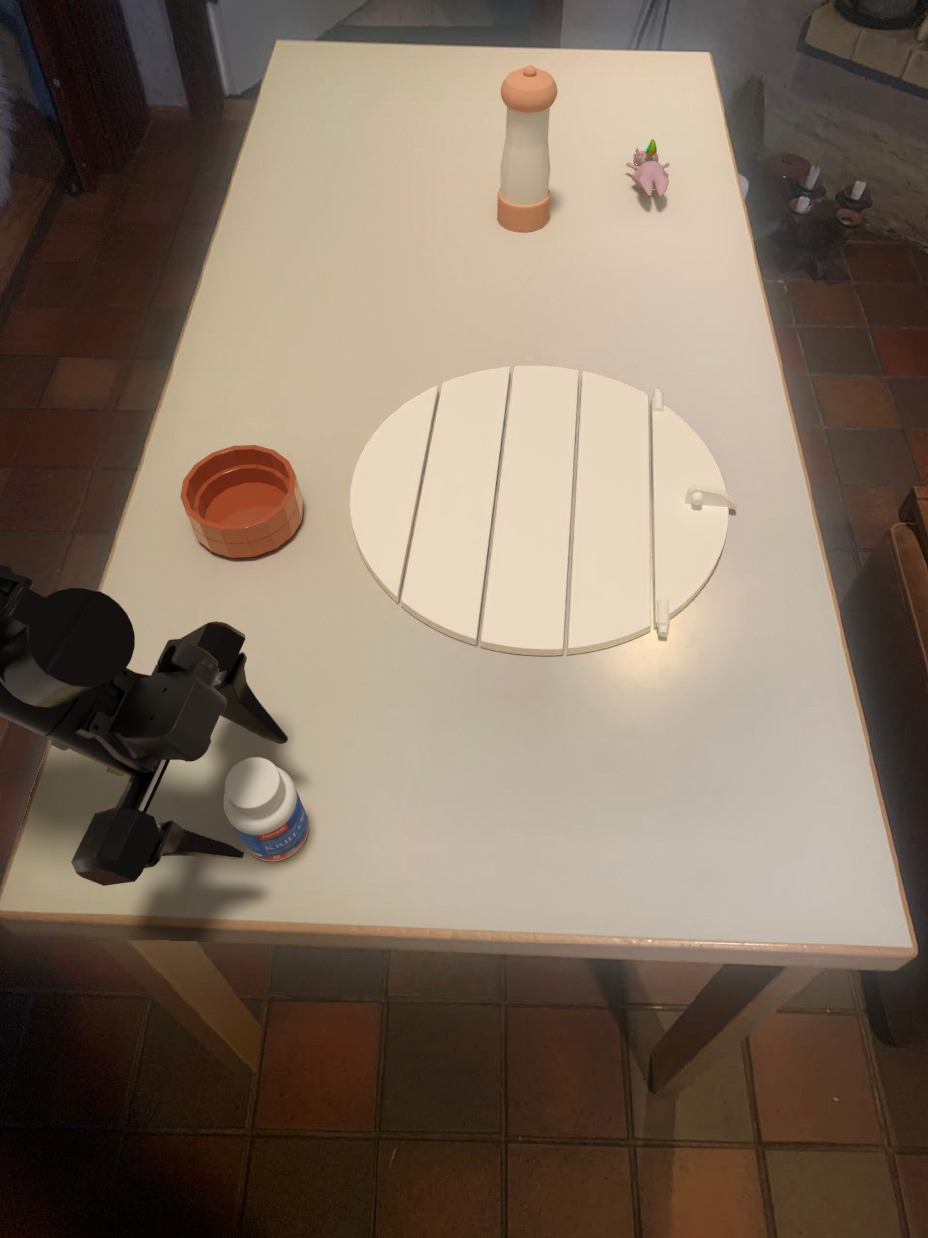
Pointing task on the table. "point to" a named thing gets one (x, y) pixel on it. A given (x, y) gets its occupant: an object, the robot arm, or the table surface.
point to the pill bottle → (265, 809)
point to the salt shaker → (526, 150)
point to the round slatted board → (539, 510)
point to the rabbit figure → (649, 170)
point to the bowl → (242, 500)
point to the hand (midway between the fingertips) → (263, 796)
